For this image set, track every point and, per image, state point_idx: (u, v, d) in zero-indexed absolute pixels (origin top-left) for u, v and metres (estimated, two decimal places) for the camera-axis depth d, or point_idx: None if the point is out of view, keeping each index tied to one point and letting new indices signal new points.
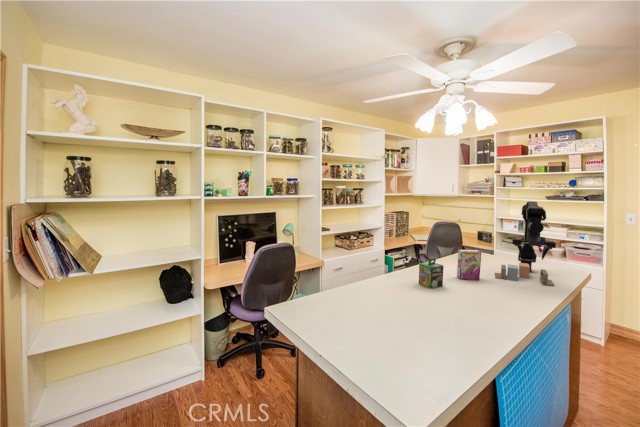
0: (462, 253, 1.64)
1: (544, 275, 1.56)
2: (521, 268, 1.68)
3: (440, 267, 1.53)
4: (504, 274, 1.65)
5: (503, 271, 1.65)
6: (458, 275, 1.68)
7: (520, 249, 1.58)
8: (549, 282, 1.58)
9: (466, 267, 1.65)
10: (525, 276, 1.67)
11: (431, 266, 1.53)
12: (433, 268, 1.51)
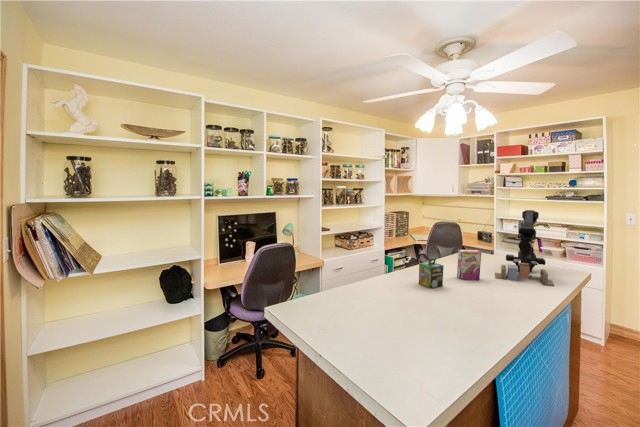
0: (462, 253, 1.64)
1: (544, 275, 1.56)
2: (521, 268, 1.68)
3: (440, 267, 1.53)
4: (504, 274, 1.65)
5: (503, 271, 1.65)
6: (458, 275, 1.68)
7: (517, 265, 1.71)
8: (549, 282, 1.58)
9: (466, 267, 1.65)
10: (525, 276, 1.67)
11: (431, 266, 1.53)
12: (433, 268, 1.51)
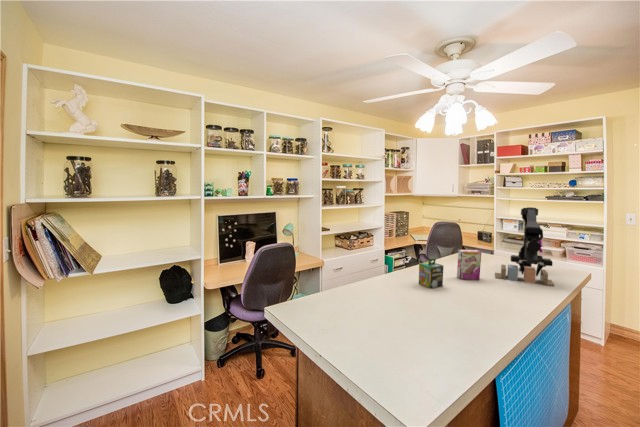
0: (462, 253, 1.64)
1: (544, 275, 1.56)
2: (526, 272, 1.61)
3: (440, 267, 1.53)
4: (504, 274, 1.65)
5: (503, 271, 1.65)
6: (458, 275, 1.68)
7: (521, 266, 1.64)
8: (549, 282, 1.58)
9: (466, 267, 1.65)
10: (531, 280, 1.60)
11: (431, 266, 1.53)
12: (433, 268, 1.51)
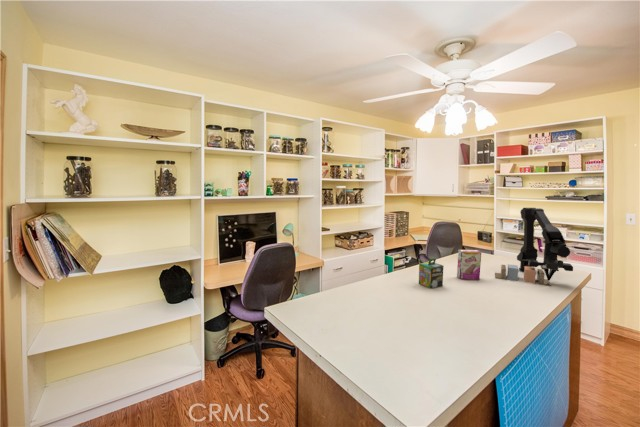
0: (462, 253, 1.64)
1: (541, 275, 1.57)
2: (526, 272, 1.61)
3: (440, 267, 1.53)
4: (504, 274, 1.65)
5: (503, 271, 1.65)
6: (458, 275, 1.68)
7: (547, 272, 1.58)
8: (545, 281, 1.59)
9: (466, 267, 1.65)
10: (531, 280, 1.60)
11: (431, 266, 1.52)
12: (433, 268, 1.51)
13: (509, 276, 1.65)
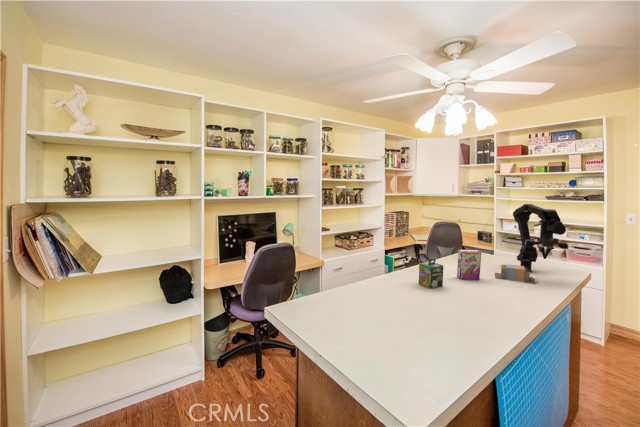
0: (462, 253, 1.64)
1: (526, 273, 1.60)
2: (516, 271, 1.63)
3: (440, 267, 1.53)
4: (504, 274, 1.65)
5: (503, 271, 1.65)
6: (458, 275, 1.68)
7: (543, 251, 1.63)
8: (531, 280, 1.62)
9: (466, 267, 1.65)
10: (520, 279, 1.62)
11: (431, 266, 1.52)
12: (433, 268, 1.51)
13: (506, 276, 1.66)
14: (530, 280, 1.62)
